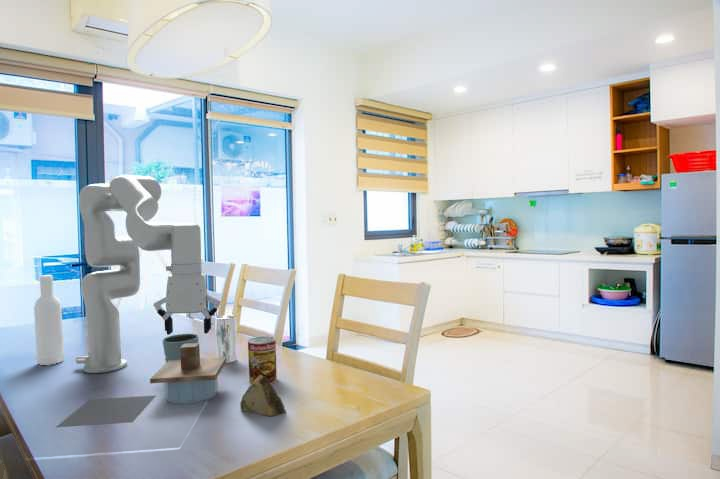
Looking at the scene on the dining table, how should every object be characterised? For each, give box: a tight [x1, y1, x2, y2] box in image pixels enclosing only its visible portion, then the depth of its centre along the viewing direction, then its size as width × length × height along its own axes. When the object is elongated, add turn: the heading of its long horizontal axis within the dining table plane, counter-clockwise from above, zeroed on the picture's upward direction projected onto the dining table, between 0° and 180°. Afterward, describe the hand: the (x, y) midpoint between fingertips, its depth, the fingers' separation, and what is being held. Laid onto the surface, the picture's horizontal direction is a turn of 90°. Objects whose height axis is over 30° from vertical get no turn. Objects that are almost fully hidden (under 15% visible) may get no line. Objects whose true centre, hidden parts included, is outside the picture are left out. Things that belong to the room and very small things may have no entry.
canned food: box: [247, 336, 278, 385], centre depth 140 cm, size 8×8×12 cm
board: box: [55, 395, 156, 428], centre depth 119 cm, size 17×17×1 cm
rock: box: [239, 375, 287, 417], centre depth 117 cm, size 11×9×10 cm
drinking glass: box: [162, 333, 199, 364], centre depth 145 cm, size 10×10×12 cm
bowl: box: [164, 377, 219, 404], centre depth 129 cm, size 13×13×6 cm
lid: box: [149, 342, 226, 384], centre depth 129 cm, size 16×16×7 cm
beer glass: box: [214, 314, 238, 365], centre depth 160 cm, size 7×7×15 cm
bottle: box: [33, 274, 65, 366], centre depth 163 cm, size 8×8×30 cm
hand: (188, 332), depth 129 cm, fingers open, 9 cm apart
